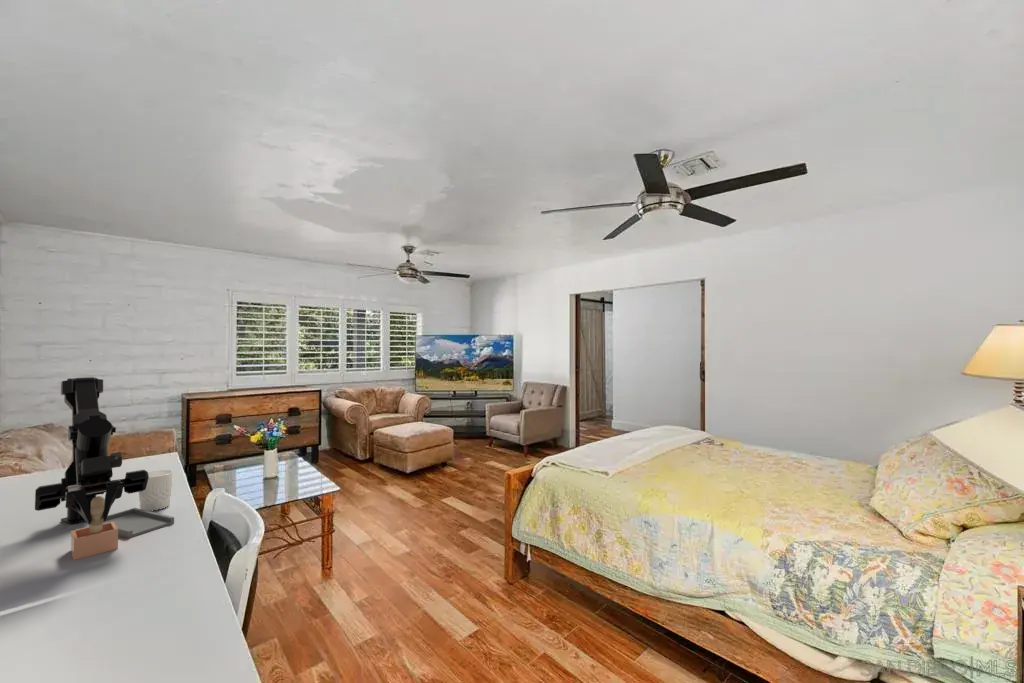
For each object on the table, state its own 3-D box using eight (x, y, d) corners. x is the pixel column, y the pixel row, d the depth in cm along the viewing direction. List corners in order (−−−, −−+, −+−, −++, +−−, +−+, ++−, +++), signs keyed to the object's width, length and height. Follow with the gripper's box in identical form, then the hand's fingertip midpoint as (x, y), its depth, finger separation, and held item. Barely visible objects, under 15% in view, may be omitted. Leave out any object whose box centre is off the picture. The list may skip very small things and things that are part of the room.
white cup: (152, 513, 124) (153, 478, 124) (130, 511, 126) (130, 476, 126) (178, 504, 132) (179, 470, 132) (157, 502, 133) (158, 469, 134)
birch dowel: (87, 544, 100) (88, 492, 100) (100, 541, 101) (101, 490, 101) (90, 552, 96) (91, 498, 96) (104, 549, 97) (105, 496, 97)
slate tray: (89, 529, 113) (89, 520, 113) (134, 515, 122) (135, 507, 122) (128, 540, 106) (128, 531, 106) (174, 525, 115) (174, 517, 115)
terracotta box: (70, 552, 100) (71, 530, 100) (113, 542, 105) (113, 521, 105) (73, 562, 95) (73, 539, 95) (117, 551, 100) (118, 529, 101)
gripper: (36, 449, 94) (36, 513, 87) (147, 436, 108) (156, 490, 101) (34, 479, 99) (34, 542, 92) (141, 463, 113) (149, 516, 106)
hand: (97, 521), depth 97 cm, fingers closed on birch dowel, 2 cm apart
